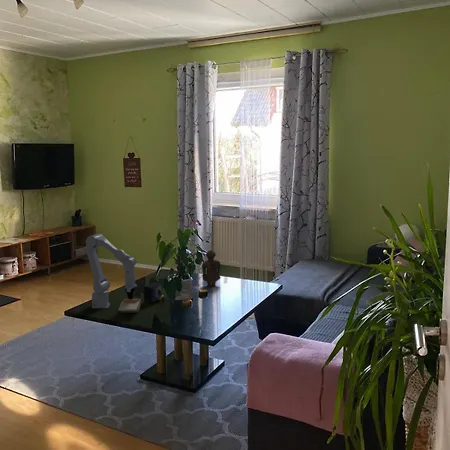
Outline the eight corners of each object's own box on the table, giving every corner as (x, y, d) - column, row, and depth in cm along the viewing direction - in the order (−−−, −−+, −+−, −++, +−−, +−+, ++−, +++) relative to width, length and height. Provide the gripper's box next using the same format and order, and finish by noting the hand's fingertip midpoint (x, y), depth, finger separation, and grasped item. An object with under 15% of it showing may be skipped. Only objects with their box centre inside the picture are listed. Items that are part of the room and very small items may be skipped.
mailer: (121, 312, 281) (120, 306, 280) (124, 305, 293) (124, 298, 293) (138, 312, 281) (138, 306, 280) (141, 305, 294) (140, 298, 293)
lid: (118, 310, 272) (118, 306, 271) (122, 302, 285) (122, 298, 284) (136, 310, 272) (136, 306, 272) (139, 302, 285) (139, 298, 285)
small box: (151, 304, 296) (151, 287, 294) (143, 302, 299) (143, 285, 297) (162, 299, 305) (162, 283, 303) (154, 297, 308) (154, 281, 306)
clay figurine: (218, 283, 339) (218, 248, 335) (222, 287, 330) (222, 251, 325) (200, 284, 336) (200, 249, 331) (204, 288, 326) (204, 252, 322)
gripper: (135, 281, 275) (135, 304, 278) (138, 274, 290) (139, 295, 292) (122, 281, 275) (123, 304, 278) (126, 274, 289) (127, 296, 292)
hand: (130, 299), depth 285 cm, fingers closed
